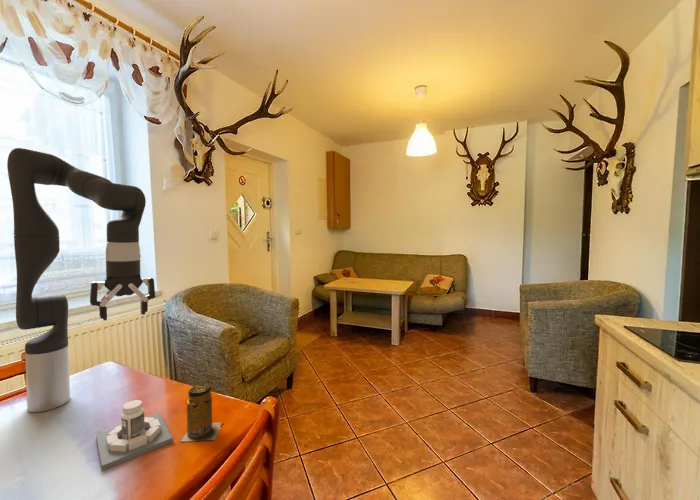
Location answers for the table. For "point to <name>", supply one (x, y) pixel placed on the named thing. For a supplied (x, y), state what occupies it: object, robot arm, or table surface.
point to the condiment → (200, 415)
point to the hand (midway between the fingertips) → (124, 316)
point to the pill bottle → (132, 420)
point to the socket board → (133, 453)
